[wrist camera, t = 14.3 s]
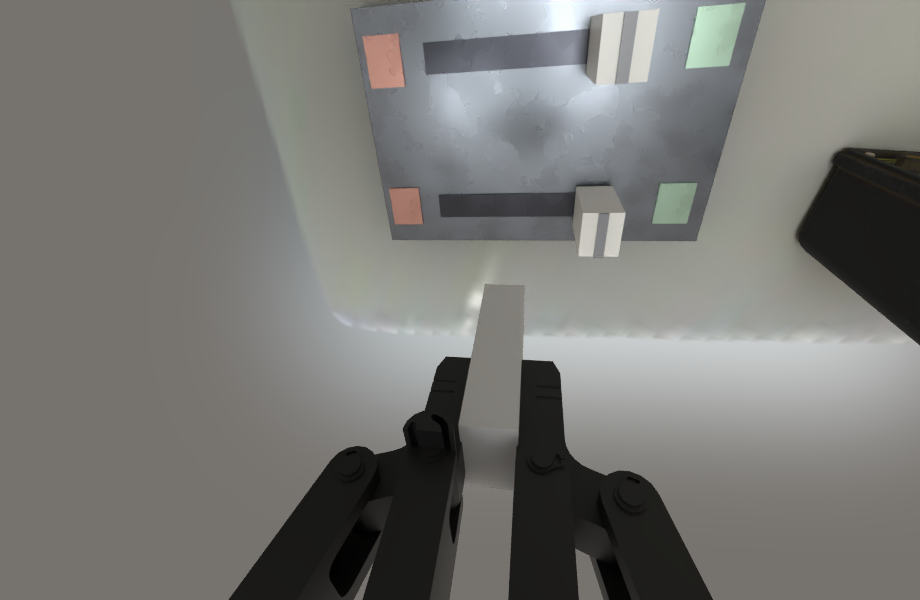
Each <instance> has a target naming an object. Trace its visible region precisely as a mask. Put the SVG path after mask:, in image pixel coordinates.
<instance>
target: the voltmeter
mask: <svg viewBox="0 0 920 600" xmlns="http://www.w3.org/2000/svg"><path fill="white" fill-rule="evenodd" d="M833 165H835V166H837V169H836V171H835V172H834V174H833V176H832V178H831V179H830V181H829V183H828V185H827V187H826V188H825V190H824V192H823V194H822V195H821V197H820V199H819V201H818V203H817V204H816V206H815V208H814V210H813V211H812V213H811V215H810V217H809V219H808V220H807V222H806V224H805V226H804V227H803V229H802V231H801V233H800V234H799V242H800V244H801V246H802V247H803V248H804V249H805V251H806V252H808V253H809V254H810V255H811V256H812V257H814V258H815V259H816V260H817V261H818V262H820V263H821V264H822V265H823V266H825V267H826V268H827V269H828V270H829V271H831V272H832V273H833V274H834V275H835V276H837V277H838V278H839V279H840V280H841V281H843V282H844V283H845V284H846V285H847V286H849V287H850V288H851V289H852V290H854V291H855V292H856V293H857V294H858V295H860V296H861V297H862V298H863V299H864V300H866V301H867V302H868V303H869V304H870V305H872V306H873V307H874V308H875V309H877V310H878V311H879V312H880V313H881V314H883V315H884V316H885V317H886V318H887V319H889V320H890V321H891V322H892V323H893V324H895V325H896V326H897V327H898V328H899V329H901V330H902V331H903V332H904V333H906V334H907V335H908V336H909V337H910V338H912V339H913V340H914V341H915V342H916V343H918V344H919V345H920V152H905V151H889V150H872V149H856V148H849V149H847V151H846V152H839V154H838V156H837V157H836V159H835V161H834V163H833Z"/></svg>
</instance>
